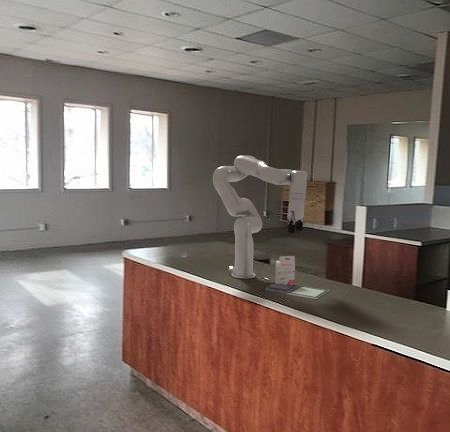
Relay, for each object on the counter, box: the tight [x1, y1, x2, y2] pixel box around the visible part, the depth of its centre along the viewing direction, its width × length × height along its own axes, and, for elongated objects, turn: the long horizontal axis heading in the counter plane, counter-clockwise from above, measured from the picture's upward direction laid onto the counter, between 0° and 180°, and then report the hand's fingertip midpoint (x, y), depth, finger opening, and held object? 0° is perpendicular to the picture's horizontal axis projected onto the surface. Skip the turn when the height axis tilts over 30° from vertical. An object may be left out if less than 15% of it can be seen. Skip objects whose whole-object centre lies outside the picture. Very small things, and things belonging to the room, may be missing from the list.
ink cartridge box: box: [274, 255, 296, 286], centre depth 240 cm, size 9×5×15 cm, turn 105°
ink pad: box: [265, 282, 297, 295], centre depth 230 cm, size 11×10×2 cm
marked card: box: [286, 285, 330, 300], centre depth 226 cm, size 14×17×1 cm
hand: (295, 231), depth 236 cm, fingers open, 9 cm apart
